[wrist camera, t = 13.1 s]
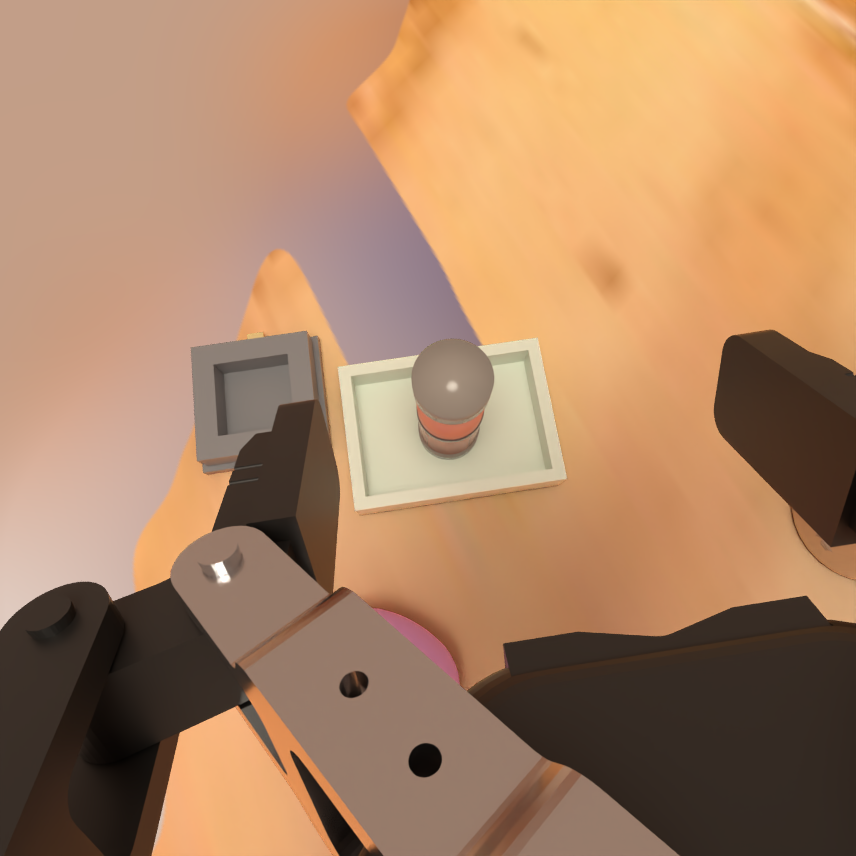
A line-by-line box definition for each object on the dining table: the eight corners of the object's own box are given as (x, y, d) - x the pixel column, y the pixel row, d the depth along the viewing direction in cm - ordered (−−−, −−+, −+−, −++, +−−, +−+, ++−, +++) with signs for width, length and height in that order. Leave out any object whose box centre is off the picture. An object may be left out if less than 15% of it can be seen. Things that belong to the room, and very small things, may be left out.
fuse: (473, 398, 42) (487, 333, 30) (482, 455, 41) (500, 411, 29) (415, 406, 42) (406, 344, 30) (422, 463, 41) (416, 422, 29)
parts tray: (530, 353, 43) (537, 337, 40) (557, 485, 41) (567, 478, 38) (344, 380, 43) (337, 366, 40) (360, 515, 41) (354, 510, 38)
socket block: (318, 330, 44) (310, 314, 41) (333, 466, 41) (326, 459, 39) (200, 347, 44) (184, 332, 41) (208, 485, 41) (191, 479, 38)
